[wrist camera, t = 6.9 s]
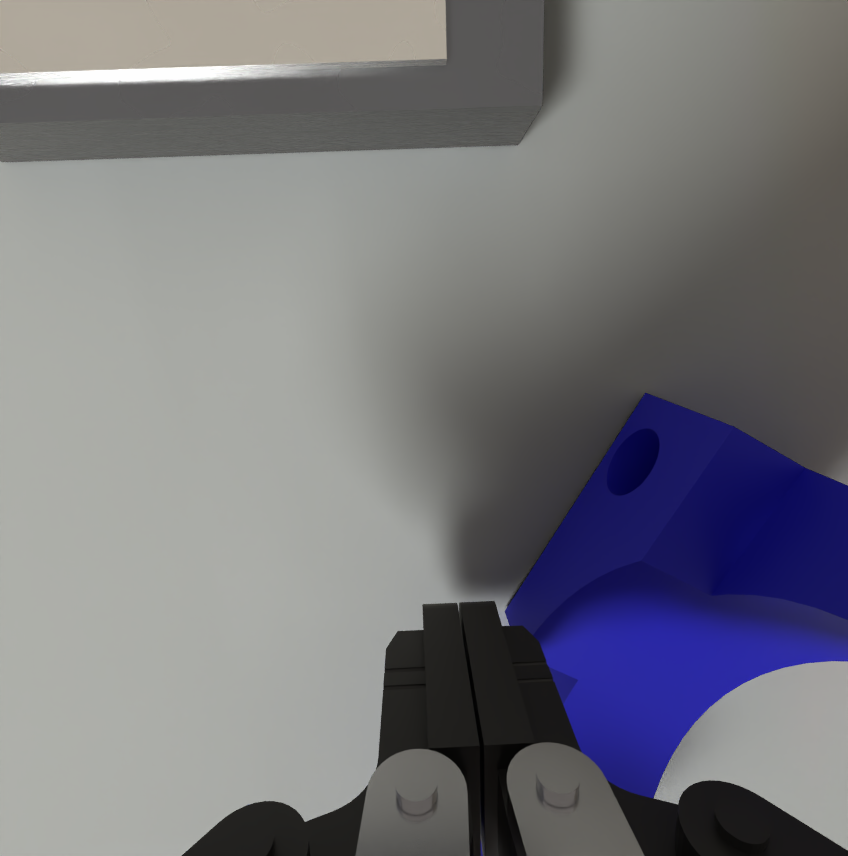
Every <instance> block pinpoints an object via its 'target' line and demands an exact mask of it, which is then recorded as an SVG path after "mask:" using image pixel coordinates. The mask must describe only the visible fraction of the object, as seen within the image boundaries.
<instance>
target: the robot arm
mask: <svg viewBox="0 0 848 856" xmlns="http://www.w3.org/2000/svg"><path fill="white" fill-rule="evenodd" d="M423 628H424V630H414V631H398V632H397V633H396V635H395V636H394V638H393V639H392V641H391V642H390V644H389V645H388V647H387V648H386V659H385V673H384V690H383V701H382V715H381V729H380V744H379V758H378V764H377V768H376V770H375V772H374V773H373V775H372V777H371V779H370V781H369V784H368V785H367V787H366V788H365V789H364V790H363V791H362V792H361V793H360V795H359V796H357V797H356V798H355V799H354V800H352V801H351V802H350V803H348V804H347V805H345V806H343V807H342V808H339V809H337V810H335V811H333V812H330V813H328V814H325V815H322V816H320V817H317V818H314V819H312V820H309V821H307V822H304V820H303V818H302V817H301V815H300V814H299V813H298V812H297V811H296V810H295V809H293V808H292V807H290V806H289V805H286V804H283V803H280V802H274V801H264V802H258V803H253V804H250V805H247V806H245V807H242V808H240V809H238V810H236V811H234V812H233V813H231V814H230V815H228V816H227V817H225V818H224V819H223V820H222V821H220V822H219V823H218V824H217V825H216V826H215V827H213V828H212V829H211V830H210V831H209V832H208V833H207V834H206V835H204V836H203V837H202V838H201V839H200V840H199V841H198V842H197V843H195V844H194V845H193V846H192V847H191V848H190V849H189V850H188V851H186V852H185V853H184V854H183V855H182V856H481V845H482V853H483V856H848V851H847V850H846V849H844V848H842V847H841V846H839V845H838V844H836V843H834V842H833V841H831V840H830V839H828V838H826V837H825V836H823V835H822V834H820V833H818V832H817V831H815V830H814V829H812V828H810V827H809V826H807V825H805V824H804V823H802V822H801V821H799V820H797V819H796V818H794V817H793V816H791V815H789V814H788V813H786V812H785V811H783V810H781V809H780V808H778V807H777V806H775V805H773V804H772V803H770V802H768V801H767V800H765V799H764V798H762V797H760V796H759V795H757V794H755V793H753V792H751V791H750V790H747V789H745V788H743V787H740V786H737V785H734V784H731V783H727V782H722V781H701V782H698V783H695V784H693V785H691V786H689V787H688V788H687V789H686V790H685V791H684V792H683V794H682V795H681V797H680V800H679V804H678V805H677V804H673V803H669V802H665V801H661V800H657V799H653V798H649V797H645V796H641V795H638V794H635V793H631V792H629V791H626V790H624V789H622V788H619V787H618V786H616V785H614V784H613V783H611V782H609V781H608V780H607V779H606V778H605V776H604V774H603V773H602V771H601V770H600V768H599V767H598V766H597V765H596V764H595V763H594V762H593V761H592V760H591V759H590V758H589V757H587V756H586V755H585V754H583V753H582V751H581V749H580V747H579V745H578V742H577V739H576V737H575V734H574V732H573V729H572V726H571V724H570V721H569V718H568V716H567V713H566V711H565V708H564V705H563V703H562V700H561V698H560V695H559V692H558V690H557V687H556V685H555V682H553V677H552V674H551V671H550V669H549V666H548V665H547V662H546V658H545V656H544V653H543V651H542V648H541V645H540V643H539V641H538V640H537V639H536V638H535V637H534V636H533V635H532V634H531V633H530V632H529V631H528V630H527V629H526V628H525V627H524V626H523V625H520V626H502V625H501V621H500V618H499V614H498V611H497V607H496V604H495V602H494V601H484V602H462V603H459V611H458V605H457V603H443V604H423Z"/></svg>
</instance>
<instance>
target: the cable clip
mask: <svg viewBox="0 0 848 856" xmlns="http://www.w3.org/2000/svg"><path fill="white" fill-rule="evenodd" d="M505 613H506V616H507V619H508V622H509V625H510V626H520V625H523V626H524V627H525V628H526V629H527V630H528V631H529V632H530V633H531V634H532V635H533V636H534V637H535V638H536V639H537V640H538V641H539V643H540V645H541V648H542V651H543V653H544V656H545V658H546V662H547V665H548V666H549V669H550V671H551V674H552V677H553V682H555V685H556V687H557V690H558V692H559V695H560V698H561V700H562V703H563V705H564V708H565V711H566V713H567V716H568V718H569V721H570V724H571V726H572V729H573V732H574V734H575V737H576V739H577V742H578V745H579V747H580V749H581V751H582V753H583V754H585V755H586V756H587V757H589V758H590V759H591V760H592V761H593V762H594V763H595V764H596V765H597V766H598V767H599V768H600V770H601V771H602V773H603V774H604V776H605V778H606V779H607V780H608V781H609V782H611V783H613V784H614V785H616V786H618V787H619V788H622V789H624V790H626V791H629V792H631V793H635V794H638V795H641V796H645V797H649V798H654V795H655V792H656V790H657V787H658V785H659V782H660V780H661V777H662V774H663V772H664V770H665V768H666V766H667V764H668V762H669V760H670V758H671V756H672V755H673V753H674V751H675V750H676V748H677V746H678V745H679V743H680V742H681V740H682V738H683V737H684V736H685V734H686V733H687V732H688V731H689V729H690V728H691V727H692V725H693V724H694V723H695V722H696V721H697V720H698V719H699V717H700V716H701V715H702V714H703V713H704V712H705V711H706V710H707V709H708V708H709V707H710V706H712V705H713V704H714V703H715V702H717V701H718V700H719V699H720V698H722V697H723V696H724V695H725V694H727V693H728V692H730V691H732V690H733V689H735V688H736V687H738V686H740V685H741V684H743V683H745V682H747V681H749V680H751V679H754V678H756V677H758V676H760V675H762V674H765V673H768V672H771V671H775V670H778V669H781V668H784V667H789V666H794V665H799V664H804V663H814V662H826V661H848V486H847V485H845V484H842V483H840V482H838V481H835V480H833V479H831V478H828V477H826V476H823V475H821V474H819V473H816V472H814V471H811V470H809V469H807V468H805V467H803V466H801V465H799V464H798V463H796V462H794V461H792V460H791V459H789V458H787V457H786V456H784V455H782V454H780V453H779V452H777V451H775V450H773V449H772V448H770V447H768V446H767V445H765V444H763V443H761V442H760V441H758V440H756V439H754V438H753V437H751V436H749V435H748V434H746V433H744V432H742V431H741V430H739V429H737V428H735V427H733V426H731V425H728V424H726V423H723V422H720V421H718V420H715V419H713V418H710V417H707V416H705V415H702V414H700V413H697V412H694V411H692V410H689V409H687V408H684V407H681V406H679V405H676V404H674V403H671V402H668V401H666V400H663V399H661V398H658V397H655V396H653V395H650V394H648V393H645V394H644V396H643V397H642V399H641V400H640V402H639V404H638V405H637V407H636V408H635V410H634V411H633V413H632V414H631V416H630V418H629V419H628V421H627V422H626V424H625V425H624V427H623V428H622V430H621V432H620V433H619V435H618V436H617V438H616V439H615V441H614V442H613V444H612V446H611V447H610V449H609V450H608V452H607V453H606V455H605V456H604V458H603V459H602V461H601V463H600V464H599V466H598V467H597V469H596V470H595V472H594V473H593V475H592V477H591V478H590V480H589V481H588V483H587V484H586V486H585V487H584V489H583V491H582V492H581V494H580V495H579V497H578V498H577V500H576V501H575V503H574V505H573V506H572V508H571V509H570V511H569V512H568V514H567V515H566V517H565V519H564V520H563V522H562V523H561V525H560V526H559V528H558V529H557V531H556V533H555V534H554V536H553V537H552V539H551V540H550V542H549V543H548V545H547V546H546V548H545V550H544V551H543V553H542V554H541V556H540V557H539V559H538V560H537V562H536V564H535V565H534V567H533V568H532V570H531V571H530V573H529V574H528V576H527V578H526V579H525V581H524V582H523V584H522V585H521V587H520V588H519V590H518V592H517V593H516V595H515V596H514V598H513V599H512V601H511V602H510V604H509V606H508V607H507V609H506V610H505ZM481 856H483V853H482V845H481Z"/></svg>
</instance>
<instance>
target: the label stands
mask: <svg viewBox="0 0 848 856" xmlns="http://www.w3.org/2000/svg"><path fill="white" fill-rule="evenodd" d="M543 45H544V0H0V161H1V162H24V161H54V160H84V159H114V158H143V157H173V156H203V155H232V154H262V153H292V152H322V151H351V150H381V149H411V148H441V147H470V146H500V145H518V144H519V142H520V141H521V139H522V138H523V136H524V134H525V133H526V131H527V129H528V128H529V126H530V125H531V123H532V121H533V120H534V118H535V117H536V115H537V113H538V112H539V110H540V108H541V107H542V103H543Z"/></svg>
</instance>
